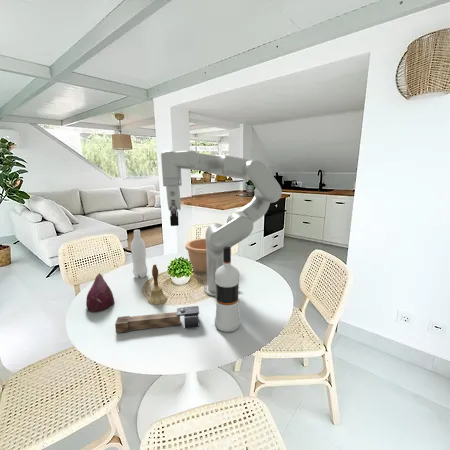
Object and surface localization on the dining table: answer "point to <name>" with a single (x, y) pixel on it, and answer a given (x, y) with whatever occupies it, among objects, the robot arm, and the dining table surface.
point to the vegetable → (99, 296)
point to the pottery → (198, 255)
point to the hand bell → (156, 290)
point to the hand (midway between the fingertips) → (174, 223)
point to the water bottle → (138, 255)
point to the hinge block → (189, 316)
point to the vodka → (227, 294)
